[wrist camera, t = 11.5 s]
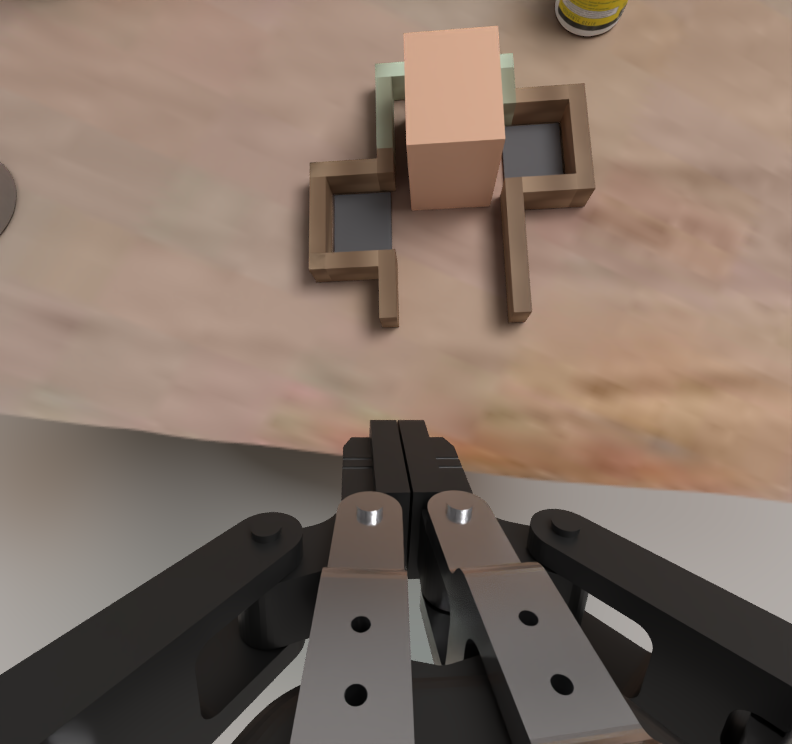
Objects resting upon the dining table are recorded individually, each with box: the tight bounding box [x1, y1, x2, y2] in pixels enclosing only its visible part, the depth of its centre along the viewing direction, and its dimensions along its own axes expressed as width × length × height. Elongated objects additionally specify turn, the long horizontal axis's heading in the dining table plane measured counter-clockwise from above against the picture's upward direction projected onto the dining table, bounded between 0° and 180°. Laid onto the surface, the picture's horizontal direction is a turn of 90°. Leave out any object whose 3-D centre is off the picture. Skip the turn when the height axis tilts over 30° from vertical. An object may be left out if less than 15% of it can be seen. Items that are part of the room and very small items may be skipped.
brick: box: [404, 26, 505, 210], centre depth 34 cm, size 6×8×8 cm
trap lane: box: [309, 53, 595, 328], centre depth 36 cm, size 20×20×2 cm
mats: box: [335, 123, 563, 252], centre depth 37 cm, size 18×11×1 cm, turn 91°
